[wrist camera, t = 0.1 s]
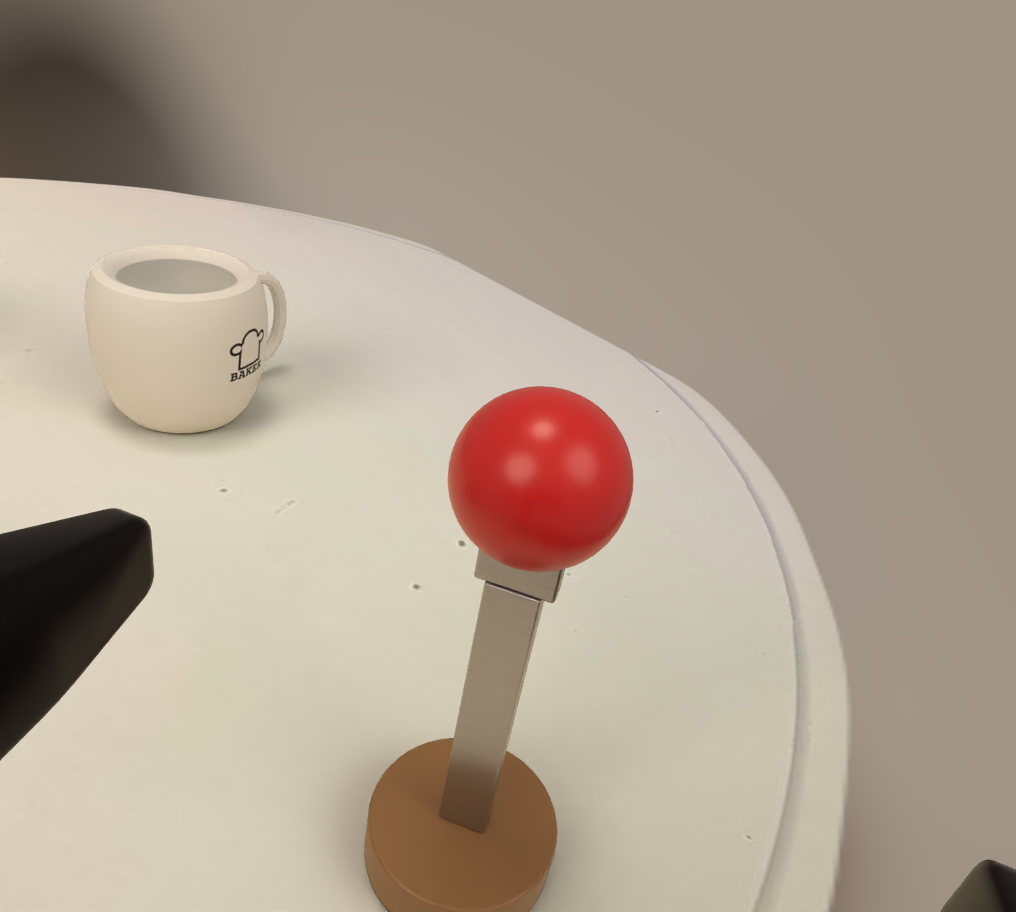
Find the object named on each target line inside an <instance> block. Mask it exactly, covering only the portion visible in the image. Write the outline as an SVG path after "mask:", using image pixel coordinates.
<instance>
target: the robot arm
mask: <svg viewBox="0 0 1016 912" xmlns="http://www.w3.org/2000/svg"><path fill="white" fill-rule="evenodd" d="M153 578H154V566H153V552H152V539H151V529H150V526H149V524H148V523H147V521H146V520H144V519H143V518H141V517H138V516H136V515H133V514H131V513H128V512H126V511H123V510H121V509H116V508H111V509H105V510H101V511H97V512H93V513H88V514H84V515H80V516H76V517H71V518H67V519H63V520H58V521H54V522H50V523H46V524H41V525H37V526H33V527H29V528H24V529H20V530H16V531H12V532H7V533H3V534H0V760H1V759H2V758H3V757H4V756H5V755H6V754H7V753H8V752H9V751H10V750H11V749H12V748H13V747H14V746H15V745H16V744H17V743H18V742H19V741H20V740H21V739H22V738H23V737H24V736H25V735H26V734H27V733H28V732H29V731H30V730H31V729H32V728H33V727H34V726H35V725H36V724H37V723H38V722H39V721H40V720H41V719H42V718H43V717H44V716H45V715H46V714H47V713H48V712H49V711H50V710H51V708H52V707H53V706H54V705H55V704H56V703H57V702H58V701H59V700H60V699H61V698H62V697H63V695H64V694H65V693H66V692H67V691H68V690H69V689H70V687H71V686H72V685H73V684H74V683H75V682H76V680H77V679H78V678H79V677H80V675H81V674H82V673H83V672H84V671H85V669H86V668H87V667H88V666H89V665H90V663H91V662H92V661H93V660H94V658H95V657H96V656H97V655H98V654H99V652H100V651H101V650H102V649H103V647H104V646H105V645H106V644H107V643H108V641H109V640H110V639H111V638H112V636H113V635H114V634H115V633H116V632H117V630H118V629H119V628H120V627H121V626H122V624H123V623H124V622H125V621H126V619H127V618H128V617H129V616H130V615H131V613H132V612H133V611H134V610H135V608H136V607H137V606H138V605H139V604H140V602H141V601H142V600H143V599H144V597H145V596H146V595H147V593H148V591H149V589H150V588H151V585H152V582H153ZM941 912H1016V869H1013V868H1011V867H1008V866H1006V865H1003V864H1001V863H998V862H996V861H993V860H984V861H982V862H980V863H979V864H977V865H976V866H975V867H974V869H973V870H972V871H971V872H970V874H969V875H968V876H967V877H966V879H965V880H964V881H963V882H962V884H961V885H960V886H959V888H958V889H957V890H956V891H955V892H954V894H953V895H952V896H951V897H950V899H949V900H948V901H947V902H946V904H945V905H944V907H943V908H942V910H941Z"/></svg>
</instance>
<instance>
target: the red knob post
mask: <svg viewBox="0 0 1016 912" xmlns="http://www.w3.org/2000/svg"><path fill="white" fill-rule="evenodd" d="M448 490H449V497H450V501H451V505H452V508H453V511H454V514H455V516H456V518H457V520H458V522H459V524H460V526H461V528H462V529H463V531H464V532H465V533H466V535H467V536H468V537H469V539H470V540H471V541H472V542H473V543H474V544H475V545H476V546H477V547H478V548H479V551H478V557H477V562H476V567H475V573H474V575H475V577H476V578H479V579H482V580H485V581H486V582H485V584H484V589H483V594H482V599H481V604H480V609H479V614H478V619H477V624H476V629H475V634H474V639H473V644H472V649H471V654H470V660H469V665H468V670H467V675H466V680H465V685H464V690H463V695H462V700H461V705H460V710H459V715H458V720H457V725H456V730H455V736H454V738H449V739H441V740H436V741H432V742H428V743H425V744H423V745H420V746H418V747H416V748H414V749H412V750H410V751H408V752H407V753H405V754H404V755H402V756H401V757H399V758H398V759H397V760H396V761H395V762H394V763H393V764H392V765H391V766H390V767H389V768H388V769H387V770H386V771H385V773H384V774H383V775H382V777H381V778H380V780H379V782H378V783H377V785H376V788H375V790H374V792H373V795H372V798H371V801H370V806H369V813H368V820H367V829H366V837H365V863H366V869H367V872H368V876H369V879H370V882H371V884H372V886H373V888H374V891H375V892H376V894H377V895H378V897H379V899H380V900H381V902H382V903H383V904H384V905H385V907H386V908H387V909H388V910H389V912H529V911H530V909H531V908H532V907H533V905H534V904H535V903H536V901H537V899H538V897H539V895H540V893H541V891H542V888H543V885H544V883H545V880H546V877H547V874H548V871H549V868H550V865H551V862H552V859H553V856H554V852H555V848H556V843H557V822H556V816H555V811H554V807H553V805H552V802H551V799H550V797H549V795H548V793H547V791H546V789H545V787H544V785H543V784H542V782H541V781H540V779H539V778H538V777H537V776H536V774H535V773H534V772H533V771H532V770H531V769H530V768H529V767H528V766H527V765H526V764H525V763H524V762H523V761H521V760H520V759H518V758H517V757H516V756H514V755H513V754H511V753H509V752H508V751H506V750H507V746H508V742H509V738H510V734H511V730H512V726H513V722H514V718H515V714H516V710H517V707H518V703H519V699H520V695H521V691H522V687H523V683H524V679H525V675H526V671H527V667H528V663H529V659H530V655H531V651H532V647H533V643H534V639H535V635H536V631H537V627H538V623H539V619H540V615H541V611H542V607H543V603H544V601H547V602H550V603H554V601H555V600H556V597H557V595H558V592H559V590H560V587H561V583H562V579H563V575H564V571H565V568H569V567H572V566H575V565H577V564H579V563H582V562H583V561H585V560H587V559H588V558H590V557H592V556H593V555H595V554H596V553H597V552H598V551H600V550H601V549H602V548H603V547H604V546H605V545H607V544H608V542H609V541H610V540H611V539H612V538H613V536H614V535H615V534H616V533H617V531H618V530H619V528H620V526H621V525H622V523H623V521H624V519H625V517H626V514H627V511H628V509H629V506H630V501H631V497H632V492H633V467H632V461H631V457H630V453H629V450H628V447H627V444H626V442H625V440H624V438H623V436H622V434H621V432H620V431H619V429H618V428H617V426H616V425H615V423H614V422H613V421H612V419H611V418H610V417H609V416H608V415H607V414H606V413H605V412H604V411H603V410H602V409H601V408H599V407H598V406H597V405H595V404H594V403H593V402H591V401H590V400H588V399H586V398H585V397H583V396H581V395H578V394H576V393H573V392H570V391H567V390H564V389H560V388H554V387H544V386H536V387H526V388H521V389H517V390H513V391H510V392H508V393H505V394H503V395H500V396H498V397H496V398H495V399H493V400H492V401H490V402H488V403H487V404H485V405H484V406H483V407H482V408H481V409H479V410H478V411H477V412H476V413H475V414H474V415H473V416H472V417H471V418H470V420H469V421H468V422H467V423H466V425H465V426H464V428H463V429H462V431H461V433H460V434H459V436H458V438H457V440H456V442H455V445H454V447H453V450H452V453H451V457H450V462H449V470H448Z"/></svg>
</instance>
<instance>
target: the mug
mask: <svg viewBox="0 0 1016 912" xmlns="http://www.w3.org/2000/svg"><path fill="white" fill-rule="evenodd" d="M262 284H266V285H267V286H268V288H269V290H270V292H271V295H272V299H273V305H274V319H273V326H272V330H271V333H270V336H269V339H268V340H267V335H268V315H267V304H266V298H265V291H264V288H263V285H262ZM286 312H287V309H286V300H285V295H284V291H283V289H282V287H281V285H280V283H279V281H278V280H277V279H276V278H275V277H274V276H273V275H271V274H270V273H269V272H257V271H255V270H254V268H253V267H251V266H250V265H249V264H248V263H246V262H244V261H242V260H240V259H238V258H235V257H233V256H230V255H227V254H224V253H221V252H218V251H214V250H209V249H204V248H198V247H191V246H179V245H154V246H143V247H136V248H130V249H126V250H122V251H118V252H115V253H112V254H109V255H107V256H105V257H103V258H101V259H99V260H98V261H97V262H96V263H95V264H94V265H93V267H92V269H91V272H90V274H89V277H88V279H87V282H86V295H85V318H86V329H87V335H88V341H89V346H90V350H91V354H92V357H93V360H94V363H95V366H96V369H97V372H98V374H99V377H100V379H101V381H102V383H103V385H104V388H105V390H106V392H107V393H108V395H109V396H110V398H111V399H112V401H113V402H114V404H115V405H116V406H117V408H118V409H119V410H120V411H121V412H122V413H124V414H125V415H126V416H127V417H129V418H130V419H131V420H132V421H134V422H135V423H137V424H139V425H141V426H143V427H146V428H149V429H152V430H156V431H161V432H169V433H195V432H202V431H207V430H212V429H215V428H218V427H221V426H223V425H226V424H227V423H229V422H231V421H232V420H234V419H235V418H236V417H237V416H238V415H239V414H240V413H241V412H242V411H243V410H244V409H245V408H246V407H247V406H248V404H249V403H250V401H251V399H252V397H253V395H254V393H255V391H256V389H257V386H258V383H259V380H260V377H261V374H262V371H263V367H264V362H265V361H266V360H268V359H269V358H270V357H271V356H272V355H273V354H274V352H275V351H276V350H277V348H278V346H279V344H280V342H281V340H282V337H283V333H284V329H285V324H286Z"/></svg>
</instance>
